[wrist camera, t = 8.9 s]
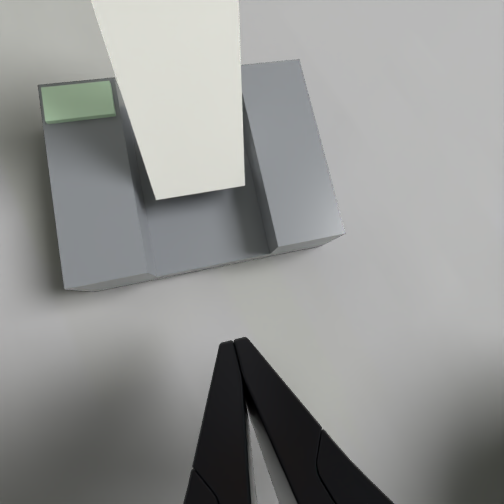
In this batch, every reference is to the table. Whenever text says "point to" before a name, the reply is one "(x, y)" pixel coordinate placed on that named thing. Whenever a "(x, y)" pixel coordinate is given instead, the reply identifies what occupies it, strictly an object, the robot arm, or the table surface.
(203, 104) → the switch lever
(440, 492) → the table surface
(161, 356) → the table surface
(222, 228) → the switch housing
